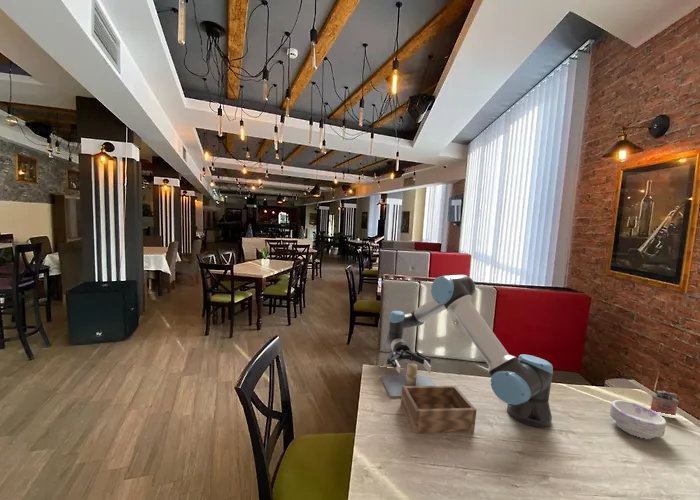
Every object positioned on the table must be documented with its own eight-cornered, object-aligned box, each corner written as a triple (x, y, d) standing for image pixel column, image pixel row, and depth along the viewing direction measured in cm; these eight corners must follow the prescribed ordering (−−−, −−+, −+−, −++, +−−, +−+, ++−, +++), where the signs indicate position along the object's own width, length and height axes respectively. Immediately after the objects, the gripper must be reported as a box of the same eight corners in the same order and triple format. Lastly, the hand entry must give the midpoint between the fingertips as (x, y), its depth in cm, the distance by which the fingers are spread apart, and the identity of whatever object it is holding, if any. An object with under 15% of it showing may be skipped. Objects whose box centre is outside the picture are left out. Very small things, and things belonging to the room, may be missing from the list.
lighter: (651, 414, 129) (655, 391, 128) (647, 409, 132) (651, 387, 131) (677, 420, 126) (681, 396, 125) (672, 415, 129) (676, 392, 128)
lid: (427, 377, 148) (429, 356, 147) (443, 398, 131) (445, 374, 130) (380, 378, 145) (382, 356, 144) (390, 399, 128) (392, 375, 127)
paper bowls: (660, 431, 118) (664, 411, 117) (665, 452, 107) (669, 430, 106) (608, 412, 128) (611, 394, 127) (607, 430, 116) (610, 410, 116)
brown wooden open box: (453, 404, 127) (455, 385, 126) (474, 431, 111) (476, 410, 110) (400, 405, 123) (402, 386, 123) (414, 433, 108) (416, 411, 107)
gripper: (423, 356, 157) (441, 378, 136) (375, 356, 153) (385, 378, 132) (425, 341, 156) (443, 361, 135) (376, 341, 153) (387, 361, 132)
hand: (414, 369), depth 134 cm, fingers open, 13 cm apart
